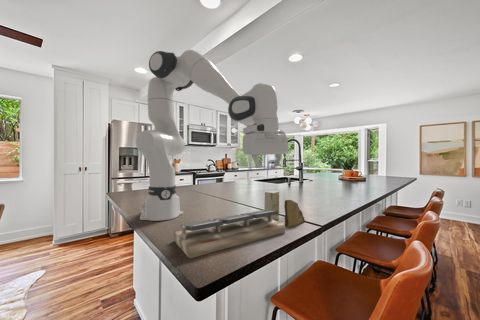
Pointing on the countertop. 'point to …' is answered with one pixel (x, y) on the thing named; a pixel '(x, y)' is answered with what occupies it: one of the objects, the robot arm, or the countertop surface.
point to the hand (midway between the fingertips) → (268, 167)
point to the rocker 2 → (261, 213)
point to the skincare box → (272, 202)
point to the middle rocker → (235, 218)
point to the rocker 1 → (202, 225)
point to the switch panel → (226, 235)
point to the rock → (292, 213)
